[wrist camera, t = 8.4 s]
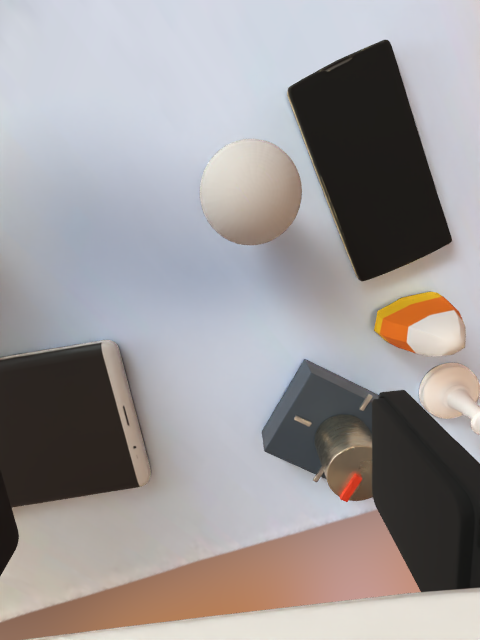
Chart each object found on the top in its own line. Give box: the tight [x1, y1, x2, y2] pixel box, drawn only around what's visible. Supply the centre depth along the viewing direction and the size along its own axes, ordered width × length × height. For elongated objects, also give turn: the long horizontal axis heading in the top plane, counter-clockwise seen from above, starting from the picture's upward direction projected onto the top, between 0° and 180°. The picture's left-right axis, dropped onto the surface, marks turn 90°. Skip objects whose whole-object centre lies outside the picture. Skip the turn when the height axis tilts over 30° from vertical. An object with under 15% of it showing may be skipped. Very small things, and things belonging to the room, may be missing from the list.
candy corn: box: [374, 292, 466, 356], centre depth 30 cm, size 6×3×8 cm, turn 111°
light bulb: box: [200, 139, 302, 245], centre depth 26 cm, size 6×6×10 cm
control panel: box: [262, 359, 379, 482], centre depth 35 cm, size 10×9×3 cm
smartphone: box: [287, 40, 452, 281], centre depth 30 cm, size 7×1×15 cm
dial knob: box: [314, 414, 373, 502], centre depth 31 cm, size 4×4×5 cm
